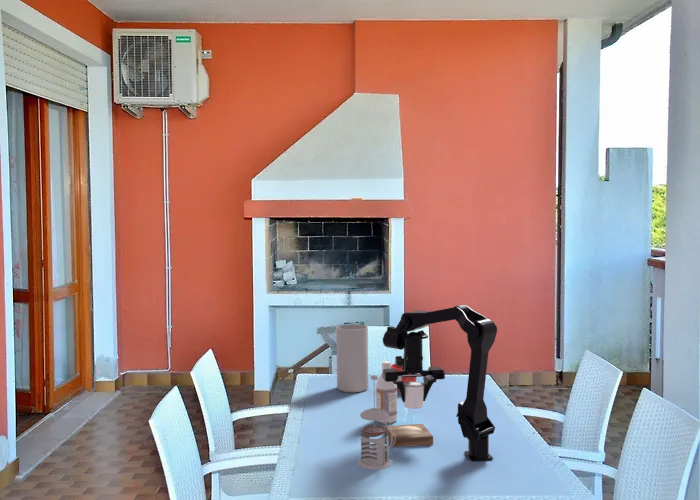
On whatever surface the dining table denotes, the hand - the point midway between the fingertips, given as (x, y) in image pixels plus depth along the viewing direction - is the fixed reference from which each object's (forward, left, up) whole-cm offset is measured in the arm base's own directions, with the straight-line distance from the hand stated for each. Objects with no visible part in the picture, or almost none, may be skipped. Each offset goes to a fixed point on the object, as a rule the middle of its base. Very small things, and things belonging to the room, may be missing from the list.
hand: (413, 401), depth 205 cm
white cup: (0, 0, -2) cm, 2 cm away
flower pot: (+55, -10, -12) cm, 57 cm away
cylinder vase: (+60, +10, -12) cm, 62 cm away
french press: (-19, +15, -12) cm, 27 cm away
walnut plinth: (-1, +2, -11) cm, 12 cm away
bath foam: (+18, +5, -12) cm, 22 cm away
